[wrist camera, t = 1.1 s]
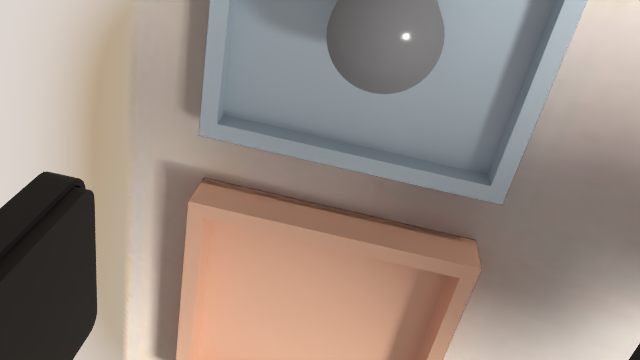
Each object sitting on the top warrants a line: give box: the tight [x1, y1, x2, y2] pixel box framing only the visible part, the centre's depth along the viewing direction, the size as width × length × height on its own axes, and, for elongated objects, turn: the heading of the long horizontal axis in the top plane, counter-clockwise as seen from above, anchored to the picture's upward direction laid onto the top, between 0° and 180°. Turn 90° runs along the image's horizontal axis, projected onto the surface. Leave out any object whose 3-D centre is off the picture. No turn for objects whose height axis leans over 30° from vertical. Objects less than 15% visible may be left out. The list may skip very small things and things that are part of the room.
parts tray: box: [199, 0, 587, 205], centre depth 28 cm, size 18×18×2 cm
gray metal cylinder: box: [326, 0, 445, 94], centre depth 26 cm, size 5×5×6 cm
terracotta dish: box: [176, 178, 481, 360], centre depth 39 cm, size 18×18×3 cm
